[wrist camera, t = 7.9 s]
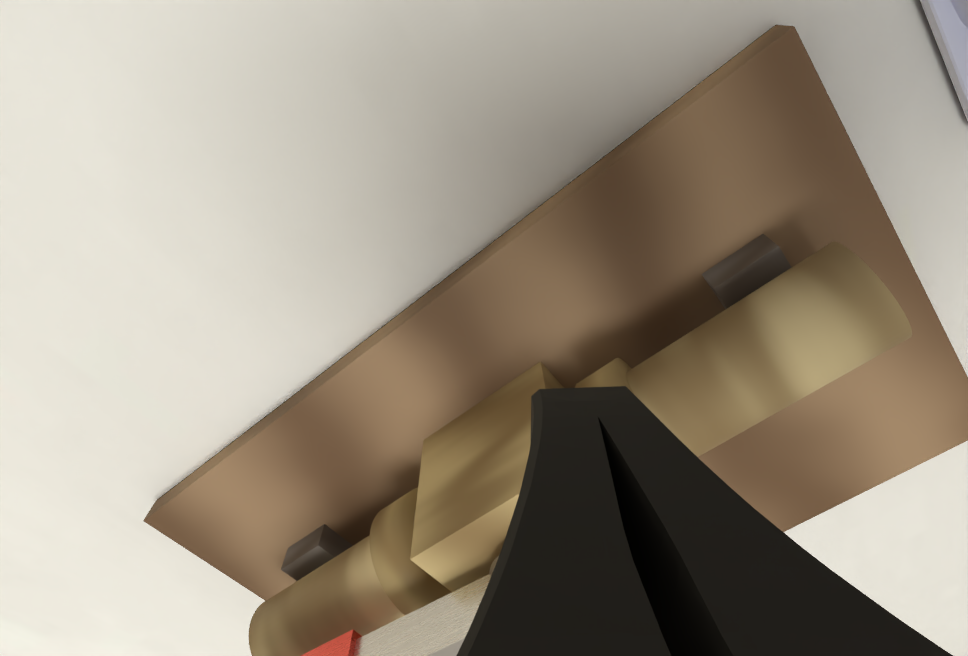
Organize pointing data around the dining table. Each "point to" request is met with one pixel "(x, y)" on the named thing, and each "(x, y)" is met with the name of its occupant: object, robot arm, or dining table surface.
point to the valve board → (600, 362)
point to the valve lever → (417, 628)
